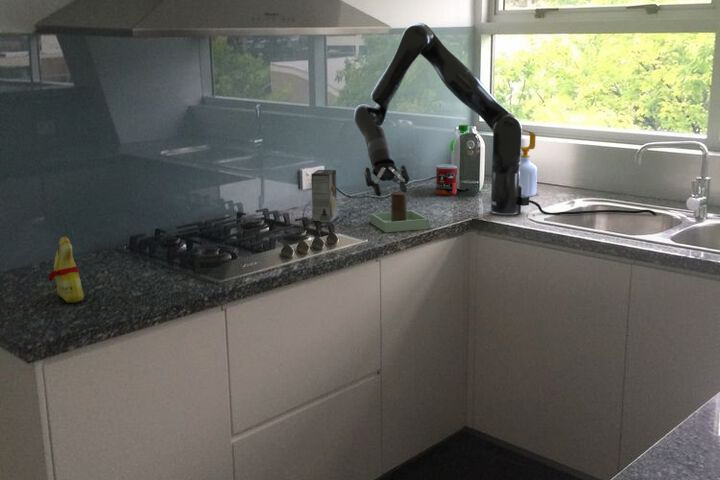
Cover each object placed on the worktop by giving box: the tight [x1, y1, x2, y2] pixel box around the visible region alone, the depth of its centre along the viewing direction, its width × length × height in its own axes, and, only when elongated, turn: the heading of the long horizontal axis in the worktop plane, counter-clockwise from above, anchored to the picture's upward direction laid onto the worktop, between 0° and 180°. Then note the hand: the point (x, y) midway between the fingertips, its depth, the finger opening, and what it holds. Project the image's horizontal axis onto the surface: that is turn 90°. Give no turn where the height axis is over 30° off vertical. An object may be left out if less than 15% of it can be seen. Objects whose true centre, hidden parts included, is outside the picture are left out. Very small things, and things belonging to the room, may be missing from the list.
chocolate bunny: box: [48, 236, 85, 304], centre depth 194 cm, size 7×11×15 cm, turn 36°
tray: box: [369, 209, 430, 233], centre depth 265 cm, size 15×15×3 cm
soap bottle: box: [519, 129, 538, 197], centre depth 310 cm, size 9×9×25 cm
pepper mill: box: [390, 191, 407, 222], centre depth 265 cm, size 5×5×10 cm
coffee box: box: [310, 169, 338, 223], centre depth 274 cm, size 9×6×16 cm
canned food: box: [435, 163, 458, 197], centre depth 314 cm, size 8×8×11 cm
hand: (391, 194), depth 270 cm, fingers open, 8 cm apart
